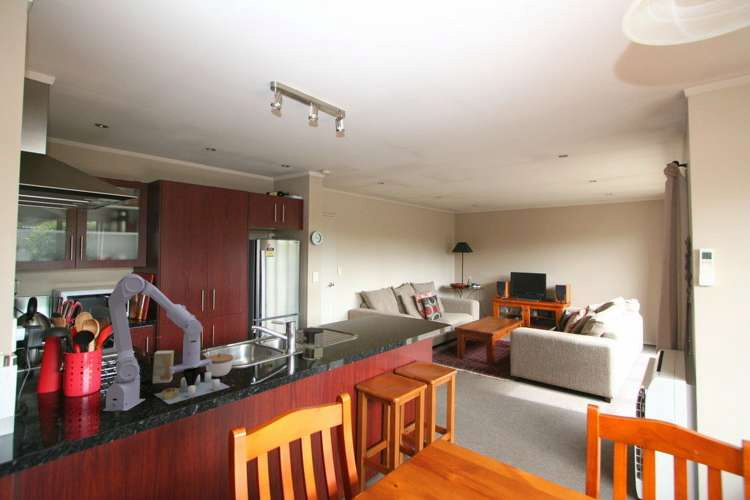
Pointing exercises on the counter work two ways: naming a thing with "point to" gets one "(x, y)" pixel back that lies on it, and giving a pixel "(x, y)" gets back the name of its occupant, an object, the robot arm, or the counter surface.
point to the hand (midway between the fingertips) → (190, 388)
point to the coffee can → (312, 343)
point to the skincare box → (162, 366)
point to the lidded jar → (220, 364)
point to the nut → (170, 393)
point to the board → (195, 388)
